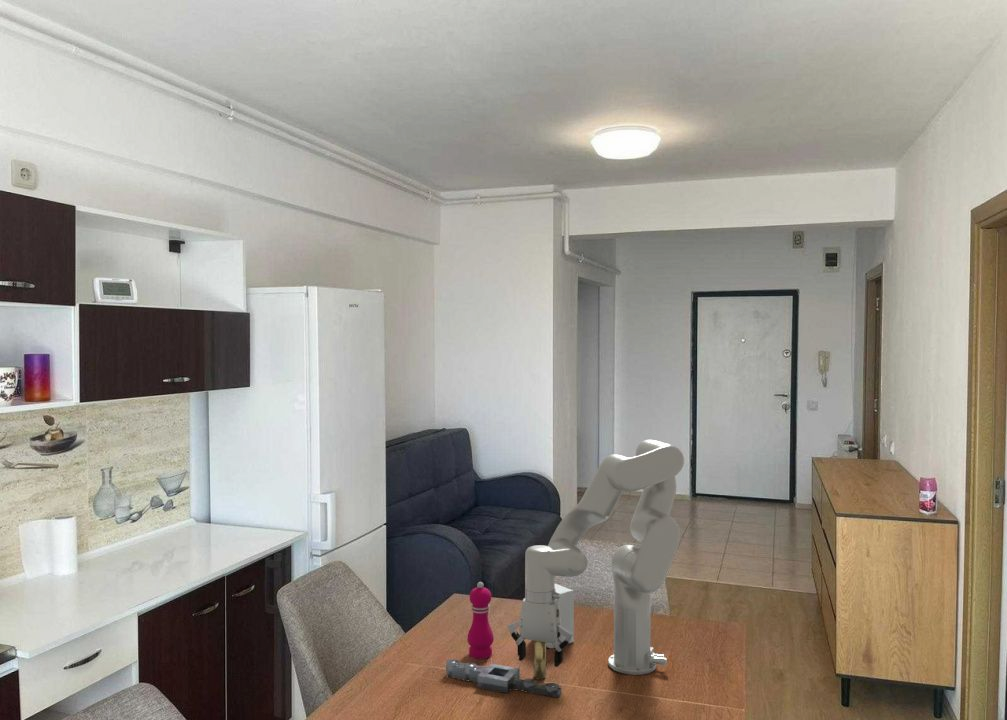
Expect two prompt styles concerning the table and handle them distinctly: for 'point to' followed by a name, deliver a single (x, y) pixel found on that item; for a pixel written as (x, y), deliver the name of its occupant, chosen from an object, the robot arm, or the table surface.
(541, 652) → the brass pin
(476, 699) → the table surface
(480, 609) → the pepper mill
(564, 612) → the supplement box
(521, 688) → the chain ends
